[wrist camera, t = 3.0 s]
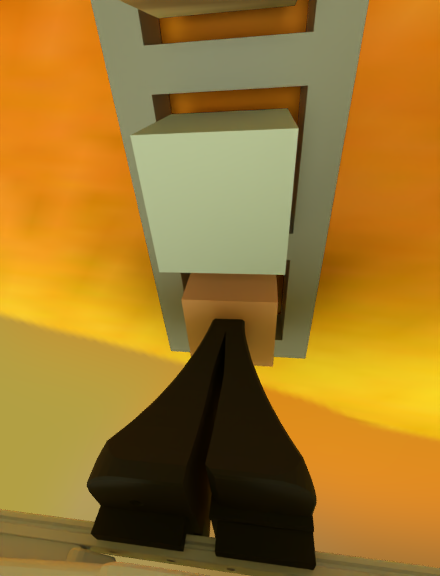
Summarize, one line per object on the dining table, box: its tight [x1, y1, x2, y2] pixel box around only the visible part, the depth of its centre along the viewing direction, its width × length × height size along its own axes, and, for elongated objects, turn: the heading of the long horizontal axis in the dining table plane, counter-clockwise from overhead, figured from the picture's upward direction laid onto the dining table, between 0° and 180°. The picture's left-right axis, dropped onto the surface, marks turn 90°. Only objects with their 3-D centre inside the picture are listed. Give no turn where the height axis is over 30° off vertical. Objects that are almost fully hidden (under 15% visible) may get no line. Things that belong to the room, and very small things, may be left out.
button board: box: [91, 0, 369, 358], centre depth 12 cm, size 8×21×2 cm, turn 3°
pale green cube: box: [130, 108, 299, 275], centre depth 10 cm, size 4×4×4 cm
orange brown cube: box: [181, 273, 278, 366], centre depth 15 cm, size 4×4×4 cm
